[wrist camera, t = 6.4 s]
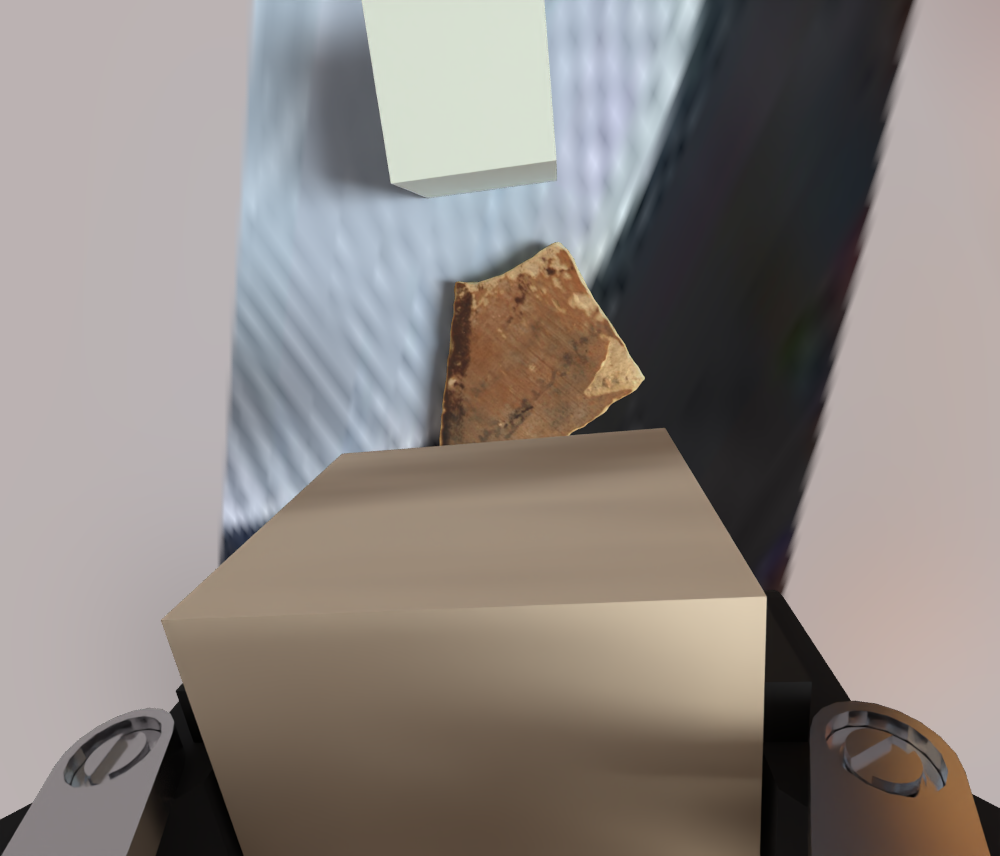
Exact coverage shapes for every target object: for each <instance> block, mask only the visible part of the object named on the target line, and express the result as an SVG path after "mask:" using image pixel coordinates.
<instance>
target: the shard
mask: <svg viewBox="0 0 1000 856" xmlns="http://www.w3.org/2000/svg"><path fill="white" fill-rule="evenodd" d="M454 292H455V301H454V304H453V307H454V315H453V319H452V323H451V330H450V350H449V356H448V360H447V376H446V383H445V390H444V395H443V403H442V410H443V411H442V415H441V429H440V438H439V442H440V446H446V445H458V444H471V443H483V442H496V441H508V440H521V439H533V438H546V437H558V436H569V435H570V434H571V433H572V432H573V431H575V430H577V429H580V428H583V427H584V426H586V425H587V424H588V423H589V422H591V421H592V420H594V419H595V418H597V417H598V416H600V415H601V414H603V413H605V412H606V410H607V409H608V407H609V406H610V405H611V404H612V403H614V402H615V401H617V400H619V399H621V398H623V397H625V396H626V395H628V394H630V393H632V392H633V391H635V390H636V389H637V388H638V386H639V385H640V384H641V382H642V381H643V380H644V379H645V377H644V376H643V375H642V373H641V371H640V369H639V367H638V366H637V365H636V363H635V362H634V361H633V359H632V358H631V356H630V355H629V353H628V351H627V348H626V346H625V344H624V343H623V341H622V340H621V338H620V337H619V335H618V334H617V332H616V331H615V329H614V327H613V326H612V324H611V323H610V321H609V320H608V318H607V317H606V315H605V314H604V313H603V311H602V310H601V308H600V307H599V305H598V304H597V302H596V301H595V300H594V298H593V296H592V294H591V292H590V290H589V289H588V288H587V286H586V284H585V281H584V279H583V277H582V275H581V274H580V272H579V270H578V268H577V266H576V264H575V260H574V258H573V257H572V255H571V254H570V253H569V251H568V250H567V249H566V248H565V247H564V246H563V245H562V244H561V243H560V242H555V243H553V244H551V245H549V246H547V247H546V248H544V249H542V250H541V251H539V252H538V253H537V254H535V255H534V256H533V257H532V258H530V259H528V260H526V261H525V262H523V263H521V264H519V265H517V266H516V267H515V268H513V269H511V270H509V271H507V272H506V273H504V274H502V275H499V276H495V277H493V278H490V279H487V280H484V281H480V282H459V281H458V282H456V283H455V288H454Z"/></svg>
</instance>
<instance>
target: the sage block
mask: <svg viewBox="0 0 1000 856" xmlns="http://www.w3.org/2000/svg"><path fill="white" fill-rule="evenodd" d="M362 6H363V12H364V18H365V24H366V31H367V37H368V43H369V49H370V56H371V62H372V68H373V75H374V81H375V87H376V93H377V100H378V106H379V112H380V118H381V125H382V131H383V137H384V143H385V150H386V156H387V162H388V169H389V175H390V181H391V184H393V185H396V186H398V187H401V188H403V189H406V190H408V191H411V192H413V193H416V194H418V195H421V196H423V197H426V198H434V197H442V196H449V195H456V194H464V193H471V192H478V191H485V190H493V189H500V188H507V187H515V186H522V185H529V184H537V183H544V182H551V181H557V166H556V149H555V136H554V123H553V110H552V96H551V83H550V70H549V57H548V44H547V30H546V17H545V4H544V0H362Z"/></svg>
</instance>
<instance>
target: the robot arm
mask: <svg viewBox="0 0 1000 856" xmlns="http://www.w3.org/2000/svg"><path fill="white" fill-rule="evenodd" d="M764 593H765V594H766V596H767V606H766V643H765V681H764V718H763V755H762V793H761V830H760V856H1000V808H998V807H996V806H994V805H992V804H991V803H989V802H987V801H985V800H983V799H981V798H979V797H977V796H975V795H973V794H972V792H971V789H970V786H969V782H968V779H967V775H966V772H965V770H964V768H963V766H962V764H961V762H960V761H959V758H958V756H957V754H956V753H955V752H954V751H953V750H952V749H951V748H950V746H949V745H948V744H947V743H946V742H945V741H944V740H943V739H942V738H941V737H940V736H939V735H938V734H936V733H935V732H934V731H932V730H931V729H929V728H928V727H927V726H925V725H924V724H923V723H921V722H919V721H918V720H916V719H914V718H911V717H910V716H908V715H906V714H904V713H902V712H900V711H897V710H894V709H891V708H888V707H885V706H882V705H879V704H875V703H868V702H860V701H851V700H850V699H849V697H848V695H847V694H846V692H845V691H844V689H843V688H842V686H841V685H840V683H839V682H838V680H837V679H836V677H835V676H834V674H833V672H832V671H831V670H830V668H829V667H828V665H827V663H826V662H825V660H824V659H823V657H822V656H821V654H820V653H819V651H818V650H817V648H816V646H815V645H814V643H813V642H812V640H811V639H810V637H809V636H808V634H807V633H806V631H805V630H804V628H803V627H802V625H801V623H800V622H799V620H798V619H797V617H796V616H795V614H794V613H793V611H792V610H791V608H790V607H789V605H788V604H787V602H786V600H785V599H784V597H783V596H782V595H781V594H780V593H779V592H778V591H775V590H766V591H764ZM176 693H177V696H178V699H179V702H178V703H177V704H176V705H175V706H174V708H173V709H172V710H171V711H170V712H169V713H168V712H167V711H165V710H163V709H156V708H146V709H141V710H135V711H131V712H128V713H126V714H123V715H120V716H117V717H115V718H113V719H111V720H109V721H107V722H105V723H103V724H101V725H99V726H98V727H96V728H95V729H93V730H92V731H90V732H89V733H87V734H86V735H85V736H83V737H82V738H80V739H79V740H78V741H77V742H76V743H75V744H74V745H73V746H72V747H70V748H69V749H68V750H67V751H66V752H65V753H64V754H63V756H62V757H61V758H60V760H59V761H58V762H57V764H56V765H55V766H54V768H53V769H52V771H51V773H50V774H49V776H48V778H47V780H46V781H45V783H44V785H43V786H42V788H41V790H40V791H39V793H38V795H37V796H36V798H35V800H34V801H33V803H31V804H29V805H27V806H25V807H24V808H22V809H20V810H18V811H16V812H14V813H12V814H10V815H8V816H6V817H4V818H2V819H0V856H244V855H243V852H242V849H241V847H240V844H239V841H238V838H237V835H236V832H235V830H234V827H233V824H232V821H231V818H230V815H229V812H228V810H227V807H226V804H225V801H224V798H223V795H222V793H221V790H220V787H219V784H218V781H217V778H216V775H215V773H214V770H213V767H212V764H211V761H210V758H209V756H208V753H207V750H206V747H205V744H204V741H203V739H202V736H201V733H200V730H199V727H198V724H197V721H196V719H195V716H194V713H193V710H192V707H191V704H190V702H189V699H188V696H187V693H186V690H185V687H184V684H182V685H181V686H180V687H179V688H178V689H177V690H176Z"/></svg>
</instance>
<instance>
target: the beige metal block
mask: <svg viewBox="0 0 1000 856" xmlns="http://www.w3.org/2000/svg"><path fill="white" fill-rule="evenodd" d="M766 606H767V596H766V594H765V593H764V591H763V589H762V588H761V586H760V584H759V583H758V581H757V580H756V578H755V576H754V575H753V573H752V571H751V570H750V568H749V566H748V565H747V563H746V561H745V560H744V558H743V556H742V555H741V553H740V551H739V550H738V548H737V546H736V545H735V543H734V542H733V540H732V538H731V537H730V535H729V533H728V532H727V530H726V528H725V527H724V525H723V523H722V522H721V520H720V518H719V517H718V515H717V513H716V512H715V510H714V508H713V507H712V505H711V504H710V502H709V500H708V499H707V497H706V495H705V494H704V492H703V490H702V489H701V487H700V485H699V484H698V482H697V480H696V479H695V477H694V475H693V474H692V472H691V470H690V469H689V467H688V466H687V464H686V462H685V461H684V459H683V457H682V456H681V454H680V452H679V451H678V449H677V447H676V446H675V444H674V442H673V441H672V439H671V437H670V436H669V434H668V432H667V431H666V429H665V428H658V429H646V430H633V431H621V432H608V433H596V434H583V435H571V436H558V437H546V438H533V439H521V440H508V441H496V442H483V443H471V444H458V445H446V446H433V447H421V448H408V449H396V450H383V451H371V452H359V453H346V454H341V455H340V456H339V457H338V458H337V459H336V460H335V461H334V462H332V463H331V464H330V465H329V466H328V467H327V468H326V469H325V470H324V471H323V472H322V473H320V474H319V475H318V476H317V477H316V478H315V479H314V480H313V481H312V482H311V483H310V484H309V485H307V486H306V487H305V488H304V489H303V490H302V491H301V492H300V493H299V494H298V495H297V496H295V497H294V498H293V499H292V500H291V501H290V502H289V503H288V504H287V505H286V506H285V507H283V508H282V509H281V510H280V511H279V512H278V513H277V514H276V515H275V516H274V517H273V518H271V519H270V520H269V521H268V522H267V523H266V524H265V525H264V526H263V527H262V528H261V529H259V530H258V531H257V532H256V533H255V534H254V535H253V536H252V537H251V538H250V539H249V540H248V541H246V542H245V543H244V544H243V545H242V546H241V547H240V548H239V549H238V550H237V551H236V552H234V553H233V554H232V555H231V556H230V557H229V558H228V559H227V560H226V561H225V562H224V563H222V564H221V565H220V566H219V567H218V568H217V569H216V570H215V571H214V572H213V573H212V574H210V575H209V576H208V577H207V578H206V579H205V580H204V581H203V582H202V583H201V584H200V585H198V586H197V587H196V588H195V589H194V590H193V591H192V592H191V593H190V594H189V595H188V596H187V597H186V598H184V599H183V600H182V601H181V602H180V603H179V604H178V605H177V606H176V607H175V608H173V609H172V610H171V611H170V612H169V613H168V614H167V615H166V616H165V617H164V618H163V619H162V620H161V622H162V625H163V627H164V630H165V633H166V636H167V639H168V642H169V645H170V647H171V650H172V653H173V656H174V659H175V662H176V665H177V667H178V670H179V673H180V676H181V679H182V682H183V684H184V687H185V690H186V693H187V696H188V699H189V702H190V704H191V707H192V710H193V713H194V716H195V719H196V721H197V724H198V727H199V730H200V733H201V736H202V739H203V741H204V744H205V747H206V750H207V753H208V756H209V758H210V761H211V764H212V767H213V770H214V773H215V775H216V778H217V781H218V784H219V787H220V790H221V793H222V795H223V798H224V801H225V804H226V807H227V810H228V812H229V815H230V818H231V821H232V824H233V827H234V830H235V832H236V835H237V838H238V841H239V844H240V847H241V849H242V852H243V855H244V856H760V830H761V793H762V755H763V718H764V681H765V643H766Z"/></svg>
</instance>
